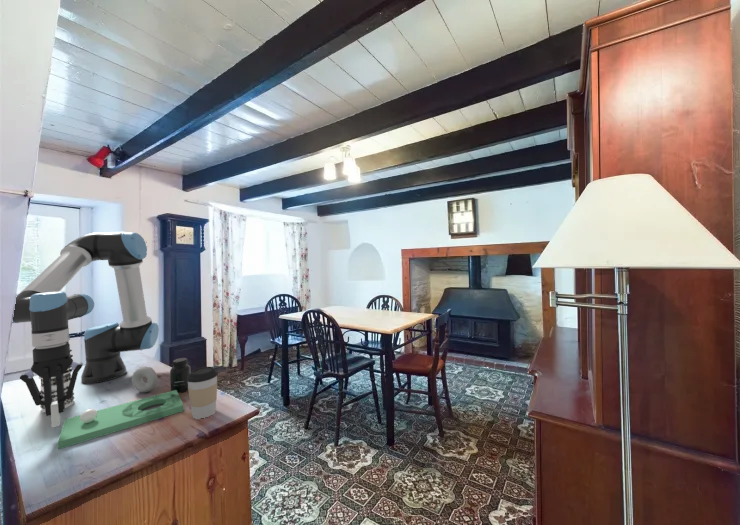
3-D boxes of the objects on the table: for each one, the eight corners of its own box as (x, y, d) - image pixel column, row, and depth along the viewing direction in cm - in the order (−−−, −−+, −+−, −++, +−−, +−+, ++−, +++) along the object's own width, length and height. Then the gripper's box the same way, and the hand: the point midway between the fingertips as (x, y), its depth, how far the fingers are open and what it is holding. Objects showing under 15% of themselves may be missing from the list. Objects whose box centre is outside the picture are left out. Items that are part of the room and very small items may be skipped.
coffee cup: (187, 424, 95) (185, 376, 95) (189, 411, 103) (187, 367, 103) (219, 416, 99) (217, 370, 99) (219, 404, 107) (217, 362, 107)
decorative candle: (39, 407, 110) (34, 338, 109) (74, 397, 116) (70, 332, 116) (38, 416, 103) (33, 343, 102) (76, 405, 110) (72, 336, 109)
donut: (160, 390, 121) (159, 365, 120) (153, 394, 117) (152, 368, 117) (137, 389, 122) (136, 365, 121) (129, 393, 118) (128, 368, 118)
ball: (81, 421, 95) (80, 409, 95) (98, 417, 97) (97, 404, 97) (79, 427, 92) (78, 414, 92) (97, 422, 94) (96, 409, 94)
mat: (66, 425, 97) (65, 419, 97) (176, 394, 116) (176, 389, 116) (58, 449, 85) (57, 442, 84) (183, 410, 104) (183, 405, 103)
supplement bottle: (176, 395, 116) (174, 364, 115) (167, 391, 119) (165, 361, 119) (194, 388, 121) (193, 358, 121) (185, 384, 125) (184, 355, 125)
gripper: (14, 353, 82) (19, 439, 83) (80, 343, 90) (85, 421, 91) (21, 347, 88) (26, 427, 89) (83, 338, 96) (87, 411, 97)
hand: (56, 424), depth 90 cm, fingers closed
